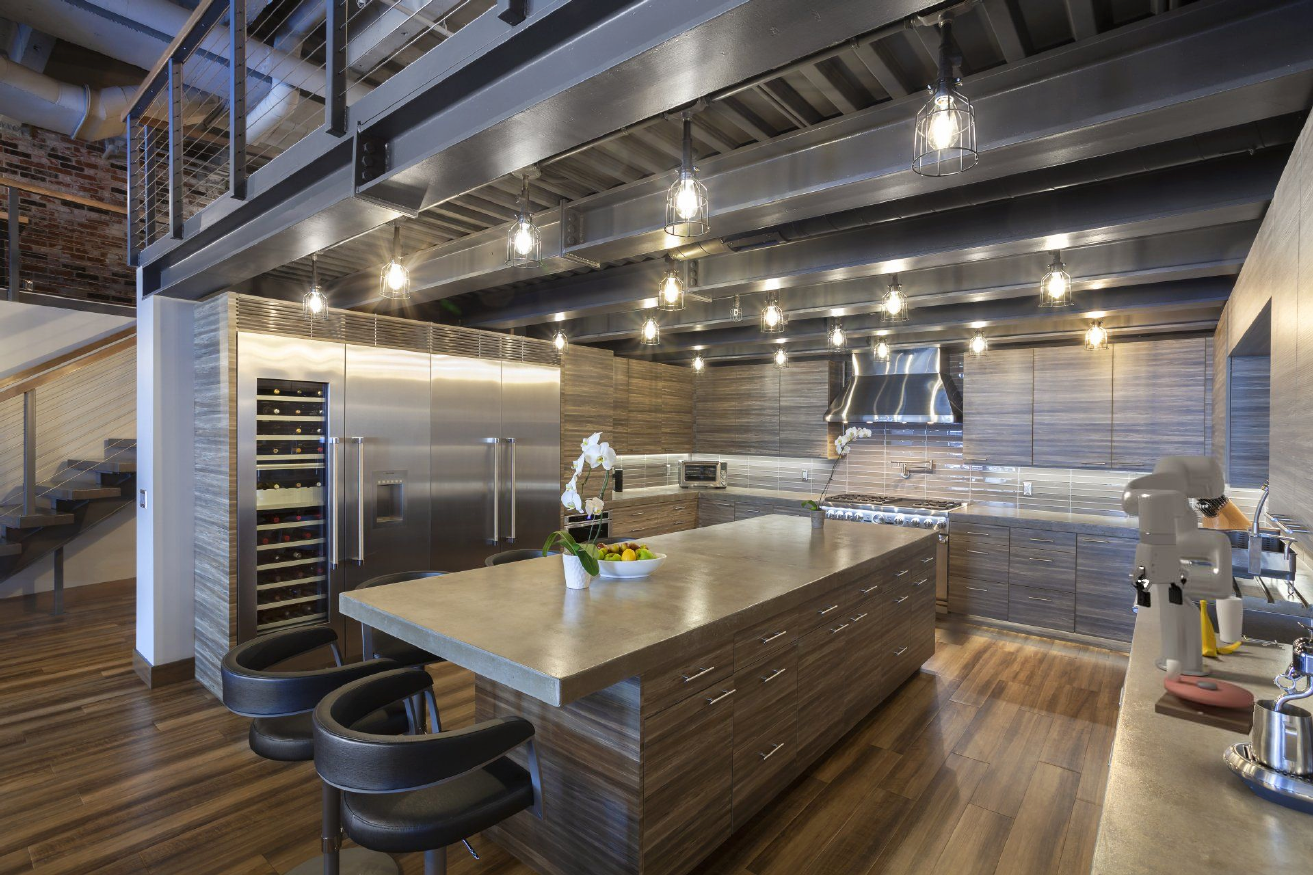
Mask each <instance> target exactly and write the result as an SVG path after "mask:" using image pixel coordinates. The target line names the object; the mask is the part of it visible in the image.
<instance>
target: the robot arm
mask: <svg viewBox="0 0 1313 875" xmlns="http://www.w3.org/2000/svg"><path fill="white" fill-rule="evenodd" d="M1225 488H1226V484H1225V478H1224V475H1223V472H1222V470H1221V467H1220V465H1219V463H1218V461H1217V460H1216V459H1215V458H1213V457H1211V456H1209V455H1170V456H1164V457H1162V458H1161V459H1159V460H1158V461H1157V462H1156V464H1155V466H1154V468H1153V470H1152V473H1149V474H1146V475H1145V476H1141V477H1137V478H1135V479H1133V480H1131V481H1130V482H1128V483H1127V484H1126V486H1125V488H1124V490H1123V492H1122V495H1121V501H1120V502H1121V503H1120V504H1121V505H1120V506H1121V508H1122V510H1123V512H1124V513H1125V514H1126V515H1128V516H1131V517H1138V532H1139V534H1138V536H1139V538H1138V539H1139V543H1138V544H1136V548H1135V555H1134V568H1133V569H1134V570H1133V571H1131V573H1129V574H1128V578H1129V580H1130V582H1131V585H1132V586H1133V587H1134V590H1135V591H1136V595H1137V596H1136V597H1137V599H1136V600H1137V605H1138V606H1140V607H1144V608H1148V609H1149V608H1151V607H1152V600H1151V599H1152V598H1151V595H1152V594H1151V591H1150V588H1151V587H1152V585H1156V589H1157V595H1158V602H1159V604H1158V605H1159V625H1160V628H1159V629H1160V631H1159V632H1160V653H1161V654H1160V656H1161V658H1158V659H1156V660H1155V661H1154V662H1155V663H1154V664H1155V666H1156V668H1159V669H1161V670H1164V671H1166V672H1167V660H1176V661H1179V662H1180V664H1181V675H1182V676H1194V677H1203V676H1205V677H1206V676H1208V675H1210V674H1211V669H1210V668H1209V667H1208V666H1206V665H1204V663H1203V662H1204V660H1203V656H1204V655H1202V630H1201V609H1199V607H1198V606H1197V604H1196V603H1195V602H1194V601H1193V600H1192V599H1190V598H1202V599H1209V600H1216V599H1217V600H1225V599H1228V598H1229V597H1230V596H1232V593H1233V552H1232V543H1231V540H1230V538H1229V536H1228V535H1227V534H1226V533H1225V532H1223V531H1218V530H1210V529H1199V515H1198V513H1197V512H1196V510H1195V509H1194V508H1193V507H1192V506H1190V505H1191V504H1190V500H1189V499H1203V500H1215V499H1219V498H1221V497H1222V496H1223V494H1224V493H1225ZM1181 561H1190V562H1191V561H1192V562H1202V563H1209V564H1210V565H1205V564H1193V563H1183V562H1181Z"/></svg>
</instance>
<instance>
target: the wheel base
mask: <svg viewBox="0 0 1313 875" xmlns="http://www.w3.org/2000/svg"><path fill="white" fill-rule="evenodd" d="M1255 703H1256V701H1254V704H1253V705H1251V706H1248V707H1223V706H1215V705H1209V704H1204V703H1199V702H1195V701H1192V700H1188V699H1185V698H1182V697H1179V696H1177V695H1174V694H1172V693H1170V692H1169V691H1167V690H1166V692H1165V693H1164V694H1163V695H1162V696H1161V697H1160V698H1159V699H1158V700H1157V702H1155V703H1154V712H1155V714H1156V713H1157V714H1160V715H1164V716H1168V717H1173V718H1176V719H1181V720H1185V721H1189V722H1193V723H1198V724H1202V725H1204V726H1205V725H1206V726H1210V727H1214V728H1218V729H1222V730H1226V731H1230V732H1234V733H1239V734H1243V735H1247V736H1249V735H1250V734H1251V731H1252V730H1253V728H1254V726H1253V712H1254V705H1255ZM1252 727H1253V728H1252Z"/></svg>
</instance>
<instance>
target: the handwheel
mask: <svg viewBox="0 0 1313 875" xmlns="http://www.w3.org/2000/svg"><path fill="white" fill-rule="evenodd" d="M1163 687H1164V689H1165V690H1166V692H1167V691H1169V692H1170V693H1172V694H1174V695H1177V696H1179V697H1182V698H1185V699H1188V700H1192V701H1195V702H1199V703H1204V704H1209V705H1215V706H1223V707H1248V706H1251V705H1253V704H1254V702H1255V696H1254V693H1252V692H1251V691H1249V690H1248V689H1246V688H1245V687H1244V688H1243V687H1241V686H1239V685H1236V684H1234V683H1229V682H1226V681H1224V680H1223V681H1222V680H1219V679H1213V678H1208V677H1203V676H1192V675H1182V674H1181V664H1180V662H1179V661H1176V660H1167V671H1166V677H1165V678H1163Z"/></svg>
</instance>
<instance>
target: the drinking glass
mask: <svg viewBox="0 0 1313 875" xmlns="http://www.w3.org/2000/svg"><path fill="white" fill-rule="evenodd" d="M1215 608H1216V616H1217V622H1218V623H1217V624H1218V629H1219V638H1220V641H1221V642H1224V643H1226V644H1230V645H1233V644H1235V643H1237V642H1241V643H1242V632H1243V618H1244V604H1243V598H1241V597H1236V596H1233V595H1231V596H1230V597H1229V598H1228V599H1225V600H1217V599H1215Z"/></svg>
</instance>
